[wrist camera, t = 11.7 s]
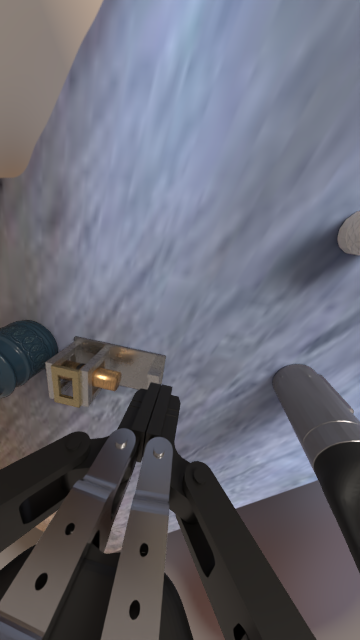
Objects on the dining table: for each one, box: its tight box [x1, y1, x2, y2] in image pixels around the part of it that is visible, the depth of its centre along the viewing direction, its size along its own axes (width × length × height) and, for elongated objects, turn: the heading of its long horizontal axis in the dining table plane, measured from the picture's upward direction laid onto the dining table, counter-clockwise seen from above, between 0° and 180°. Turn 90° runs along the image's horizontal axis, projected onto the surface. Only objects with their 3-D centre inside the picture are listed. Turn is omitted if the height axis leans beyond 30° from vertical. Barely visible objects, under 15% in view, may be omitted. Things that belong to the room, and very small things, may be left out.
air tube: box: [60, 360, 121, 391], centre depth 41 cm, size 13×4×4 cm, turn 80°
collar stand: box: [45, 336, 166, 407], centre depth 41 cm, size 22×11×10 cm, turn 80°
